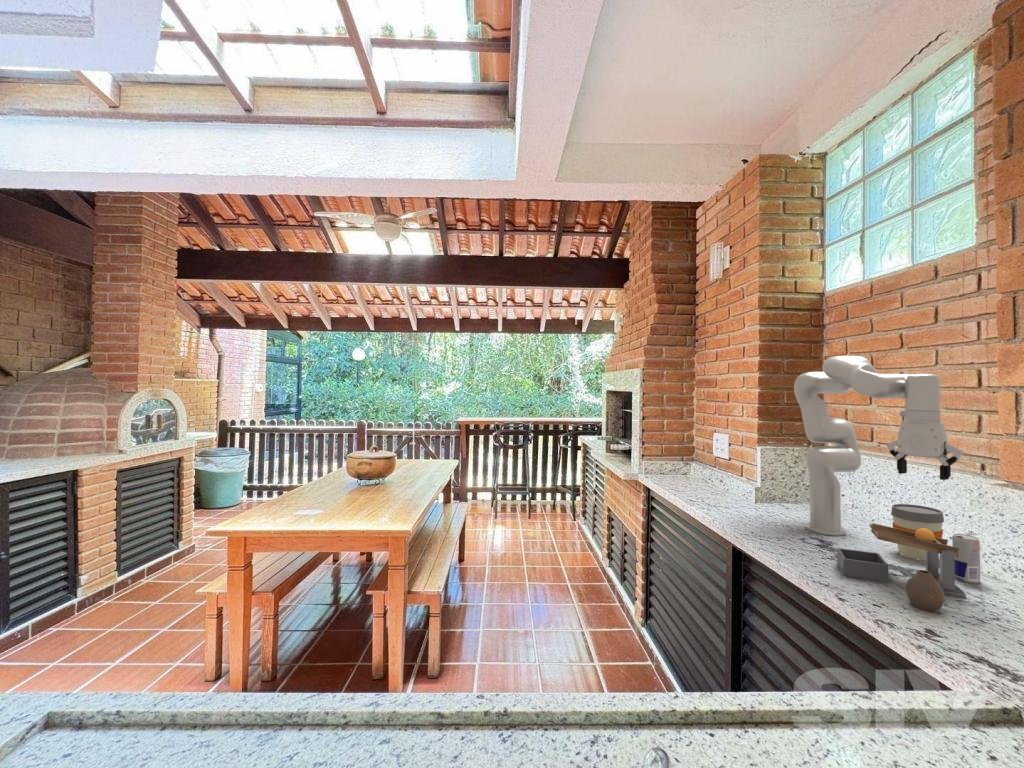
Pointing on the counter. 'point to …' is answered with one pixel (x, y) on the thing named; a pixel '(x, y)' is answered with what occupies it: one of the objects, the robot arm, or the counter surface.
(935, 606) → the vase
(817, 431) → the robot arm
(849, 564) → the bin
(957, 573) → the energy drink
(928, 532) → the ball
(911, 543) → the wooden tilting tray
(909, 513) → the reusable coffee cup
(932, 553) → the stand
